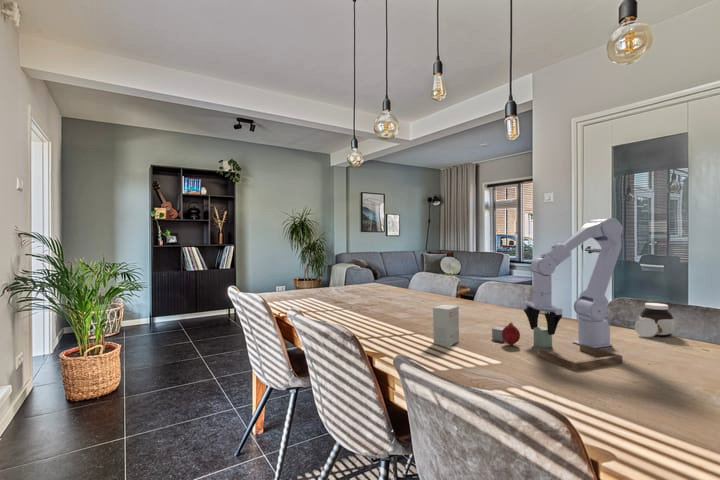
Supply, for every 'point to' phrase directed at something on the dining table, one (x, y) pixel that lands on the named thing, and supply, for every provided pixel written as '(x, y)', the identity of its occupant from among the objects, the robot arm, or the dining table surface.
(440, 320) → the small box
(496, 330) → the light gray block
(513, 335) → the red round fruit
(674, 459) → the dining table surface
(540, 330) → the sage block
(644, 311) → the spread jar
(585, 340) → the robot arm
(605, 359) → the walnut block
